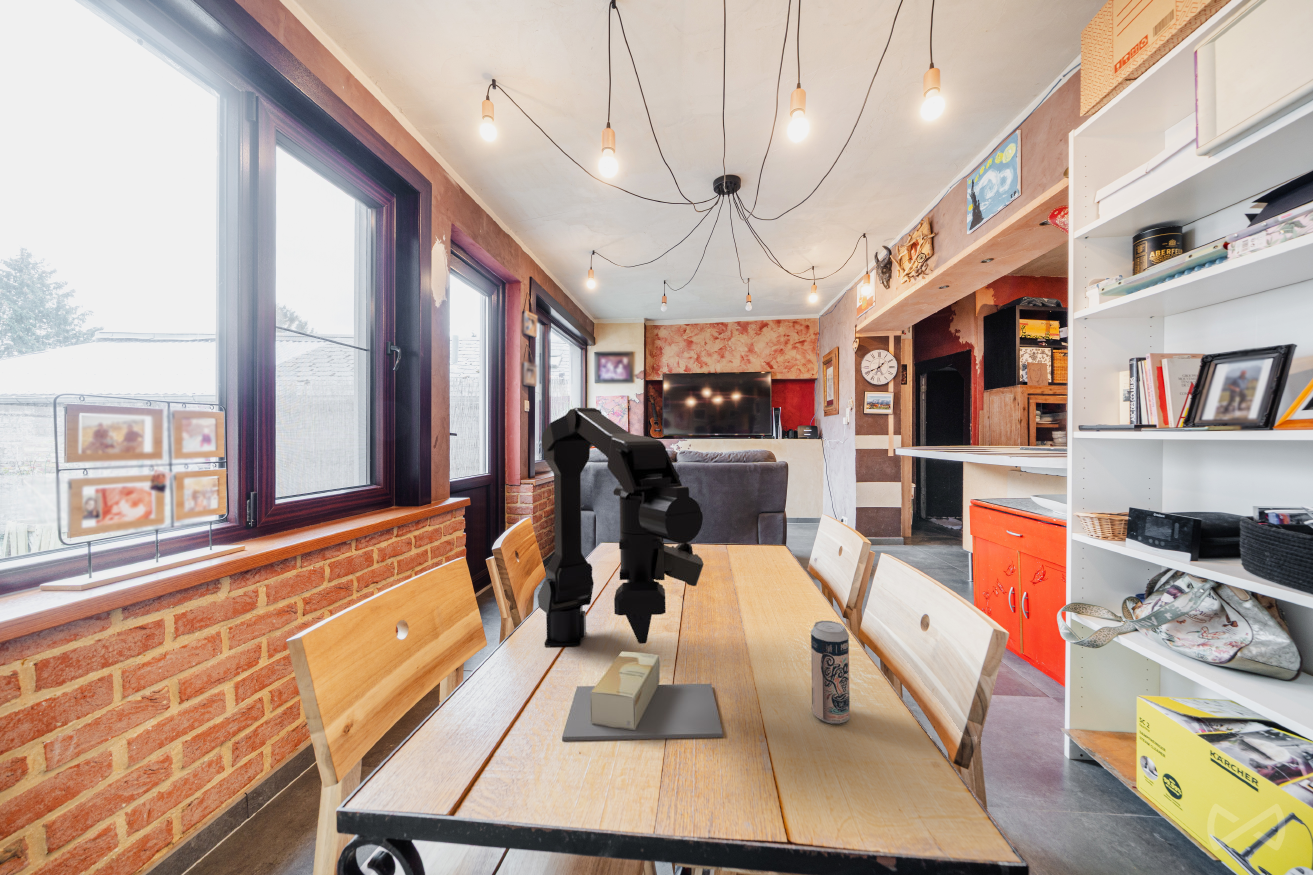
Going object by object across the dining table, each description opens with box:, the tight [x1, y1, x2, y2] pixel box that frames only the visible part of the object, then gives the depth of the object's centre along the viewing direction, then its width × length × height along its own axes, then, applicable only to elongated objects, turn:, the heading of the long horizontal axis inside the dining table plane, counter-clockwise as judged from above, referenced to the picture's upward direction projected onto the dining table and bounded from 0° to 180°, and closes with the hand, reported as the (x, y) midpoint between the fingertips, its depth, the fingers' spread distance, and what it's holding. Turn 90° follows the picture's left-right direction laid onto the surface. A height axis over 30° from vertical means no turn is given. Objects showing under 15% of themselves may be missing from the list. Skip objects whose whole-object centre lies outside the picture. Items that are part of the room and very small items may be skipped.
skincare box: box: [590, 651, 661, 730], centre depth 67 cm, size 6×4×12 cm
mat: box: [561, 683, 724, 742], centre depth 66 cm, size 20×12×1 cm, turn 91°
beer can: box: [810, 620, 851, 725], centre depth 64 cm, size 5×5×12 cm
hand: (642, 642), depth 67 cm, fingers closed
